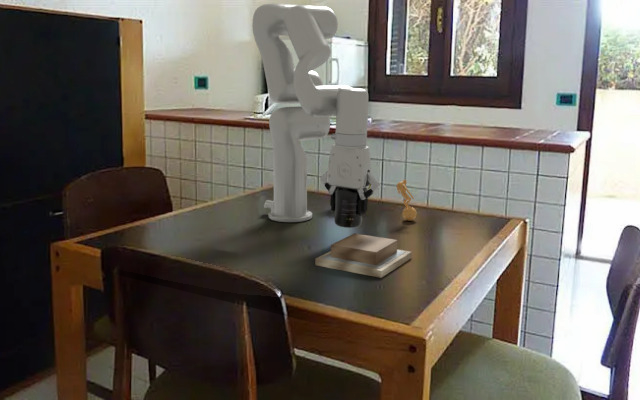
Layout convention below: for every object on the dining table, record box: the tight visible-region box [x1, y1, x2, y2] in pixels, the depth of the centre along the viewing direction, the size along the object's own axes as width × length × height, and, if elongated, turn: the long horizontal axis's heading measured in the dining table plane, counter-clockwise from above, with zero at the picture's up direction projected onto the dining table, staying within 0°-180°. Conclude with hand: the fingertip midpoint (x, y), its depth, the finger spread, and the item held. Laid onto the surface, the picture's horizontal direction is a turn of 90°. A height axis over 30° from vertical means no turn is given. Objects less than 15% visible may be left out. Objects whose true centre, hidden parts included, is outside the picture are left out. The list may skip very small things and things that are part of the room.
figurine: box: [396, 179, 418, 222], centre depth 177 cm, size 8×6×12 cm
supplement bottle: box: [334, 187, 363, 229], centre depth 155 cm, size 7×7×12 cm
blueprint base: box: [314, 233, 413, 279], centre depth 141 cm, size 16×16×4 cm
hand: (348, 211), depth 155 cm, fingers closed on supplement bottle, 6 cm apart
